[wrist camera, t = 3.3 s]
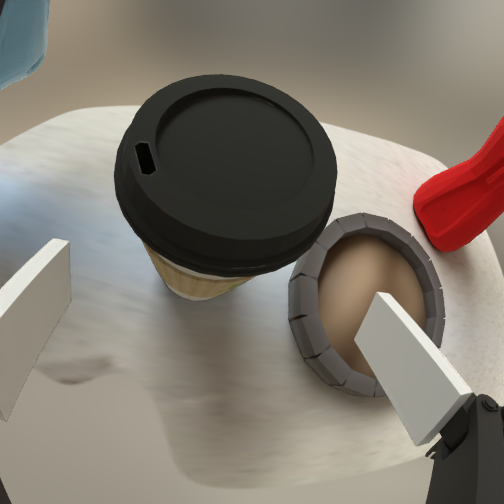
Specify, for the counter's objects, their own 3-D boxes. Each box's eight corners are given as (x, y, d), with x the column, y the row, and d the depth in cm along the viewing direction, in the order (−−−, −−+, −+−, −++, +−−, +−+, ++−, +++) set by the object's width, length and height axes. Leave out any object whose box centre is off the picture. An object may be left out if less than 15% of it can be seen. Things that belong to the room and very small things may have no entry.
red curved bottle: (392, 198, 34) (542, 62, 11) (435, 184, 38) (554, 82, 15) (428, 267, 32) (605, 161, 9) (465, 241, 36) (598, 155, 13)
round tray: (257, 355, 23) (267, 353, 21) (322, 196, 31) (333, 183, 28) (406, 413, 25) (423, 414, 22) (437, 270, 32) (451, 264, 30)
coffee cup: (274, 299, 25) (389, 219, 12) (160, 341, 22) (146, 303, 8) (230, 198, 28) (287, 63, 14) (124, 227, 24) (96, 84, 11)
